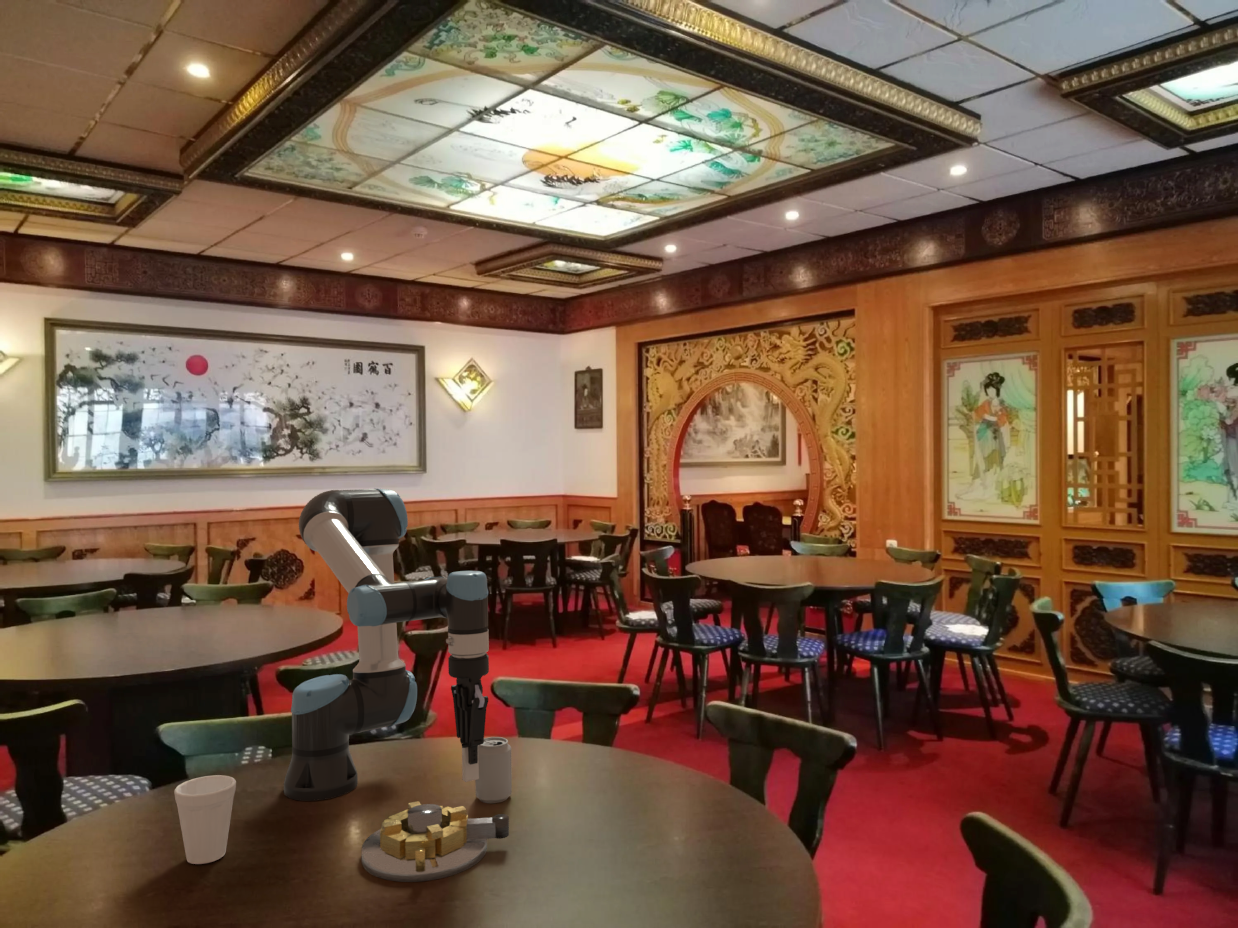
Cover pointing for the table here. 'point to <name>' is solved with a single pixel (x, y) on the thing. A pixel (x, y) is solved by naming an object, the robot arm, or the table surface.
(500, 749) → the can
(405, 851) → the ring nut
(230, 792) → the cup
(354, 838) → the table surface
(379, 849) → the cap base
